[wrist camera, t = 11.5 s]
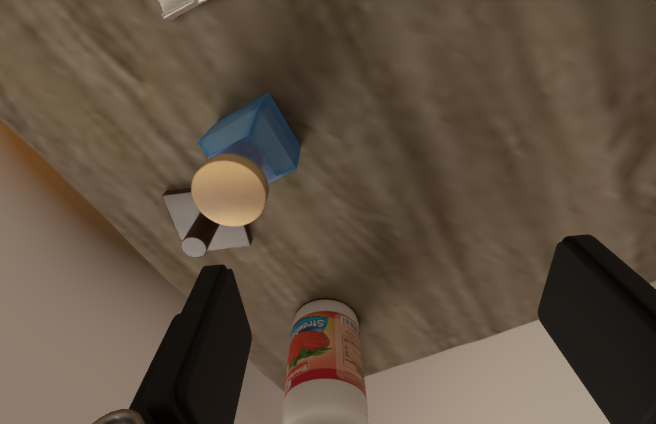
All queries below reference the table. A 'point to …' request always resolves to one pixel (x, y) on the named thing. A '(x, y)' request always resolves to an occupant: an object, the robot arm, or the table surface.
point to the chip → (230, 189)
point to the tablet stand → (177, 7)
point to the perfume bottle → (256, 138)
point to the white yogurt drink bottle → (325, 367)
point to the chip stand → (201, 226)
